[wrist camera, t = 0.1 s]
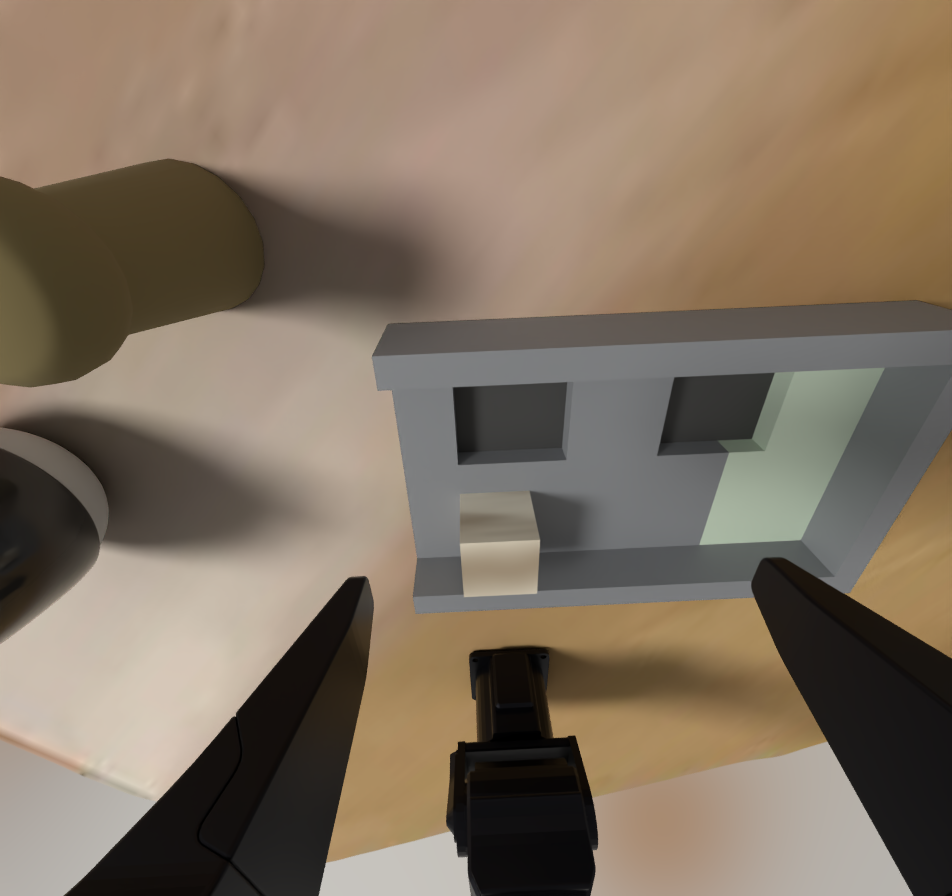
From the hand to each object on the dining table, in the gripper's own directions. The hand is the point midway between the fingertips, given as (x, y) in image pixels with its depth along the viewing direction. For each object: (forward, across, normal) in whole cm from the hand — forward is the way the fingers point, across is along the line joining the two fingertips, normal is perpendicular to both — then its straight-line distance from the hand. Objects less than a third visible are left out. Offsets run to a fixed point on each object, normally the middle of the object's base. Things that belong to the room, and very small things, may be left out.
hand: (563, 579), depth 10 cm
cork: (+15, +14, -6) cm, 21 cm away
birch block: (+13, +1, +10) cm, 16 cm away
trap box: (+15, -7, +6) cm, 17 cm away
